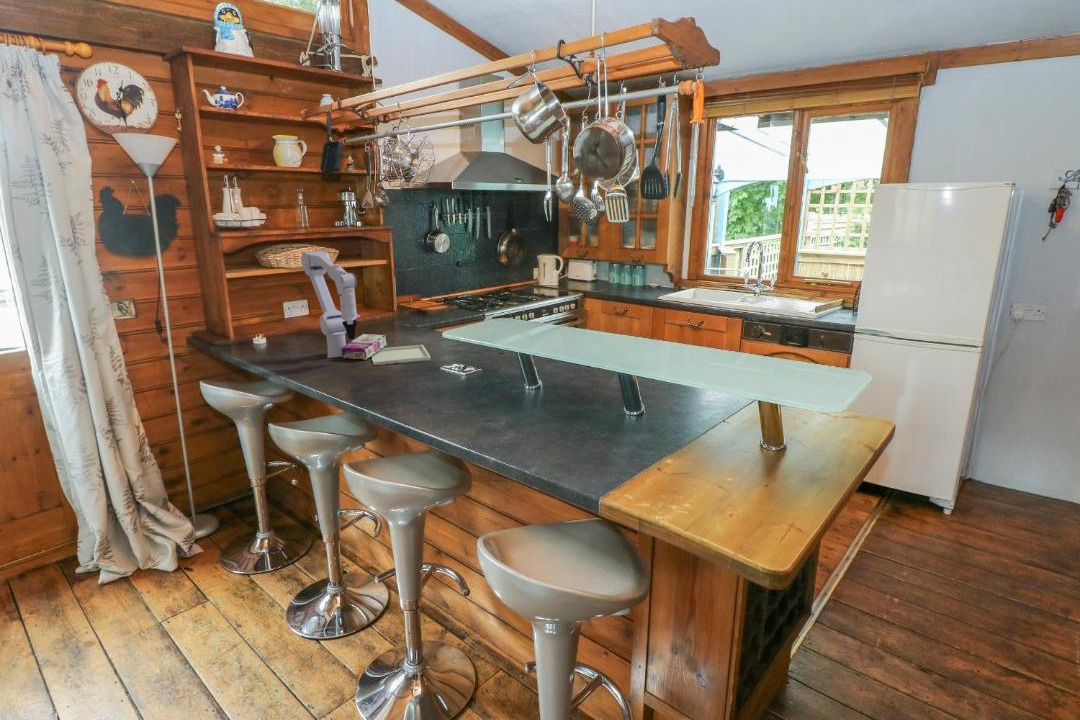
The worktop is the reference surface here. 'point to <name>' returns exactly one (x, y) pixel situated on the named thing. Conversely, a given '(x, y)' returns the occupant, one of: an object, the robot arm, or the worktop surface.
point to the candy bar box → (364, 346)
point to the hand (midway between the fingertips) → (351, 339)
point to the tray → (400, 355)
